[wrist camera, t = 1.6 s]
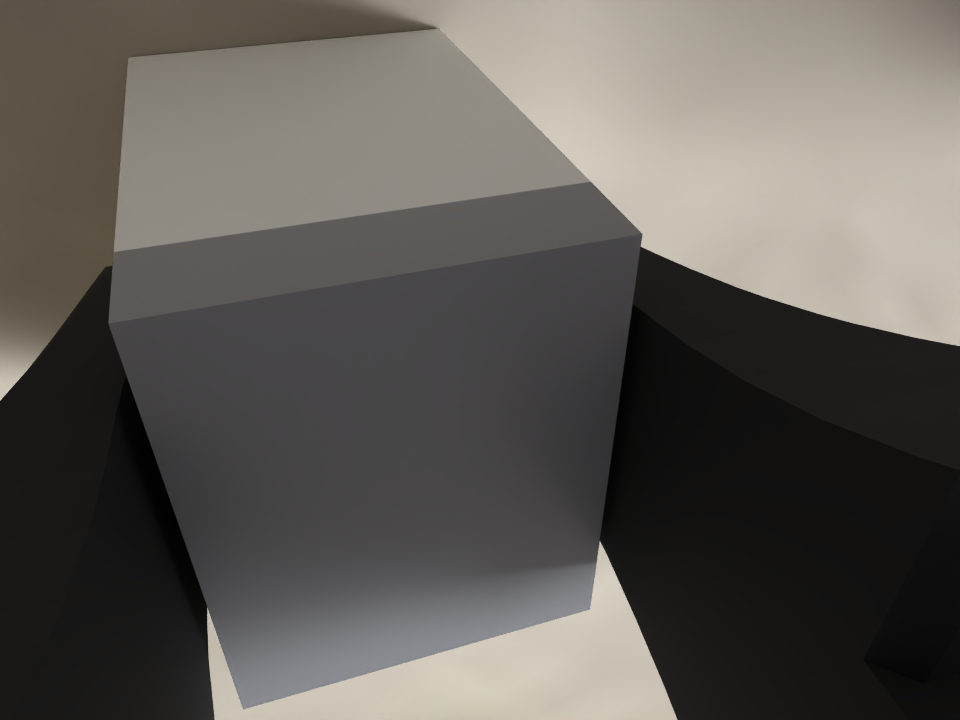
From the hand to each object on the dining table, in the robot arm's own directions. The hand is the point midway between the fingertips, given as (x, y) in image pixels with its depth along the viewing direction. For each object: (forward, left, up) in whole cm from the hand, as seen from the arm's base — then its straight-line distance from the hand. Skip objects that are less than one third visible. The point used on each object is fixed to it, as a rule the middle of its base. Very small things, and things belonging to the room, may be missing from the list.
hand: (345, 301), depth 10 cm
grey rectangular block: (0, 0, -2) cm, 2 cm away
